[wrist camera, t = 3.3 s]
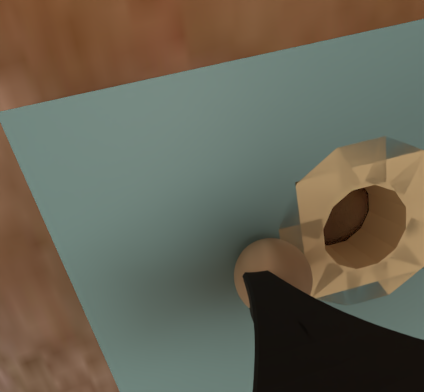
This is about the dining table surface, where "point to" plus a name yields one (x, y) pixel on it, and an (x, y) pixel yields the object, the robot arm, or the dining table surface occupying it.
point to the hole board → (232, 198)
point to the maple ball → (273, 265)
